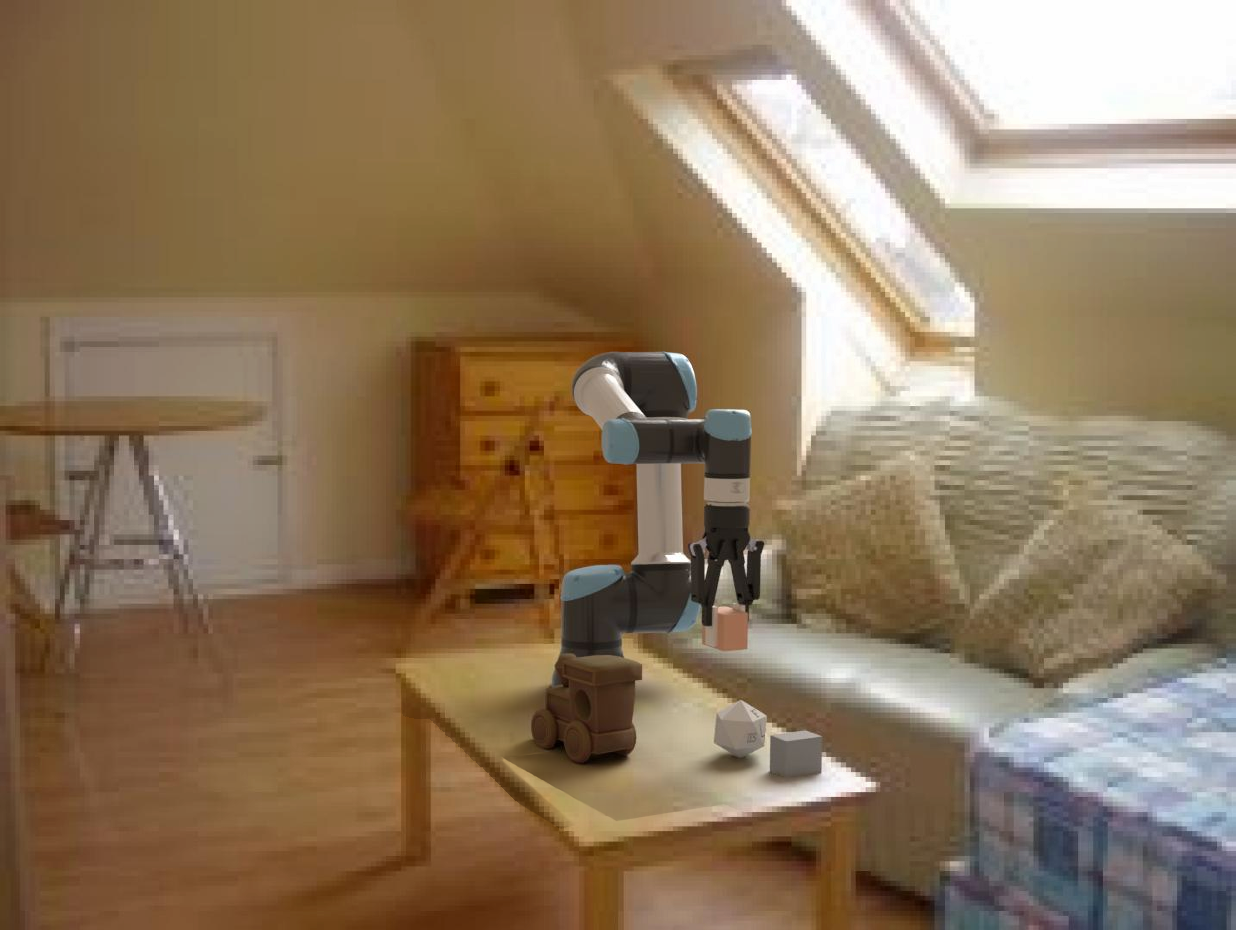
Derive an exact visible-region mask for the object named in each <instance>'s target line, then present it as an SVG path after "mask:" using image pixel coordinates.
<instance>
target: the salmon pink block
mask: <svg viewBox="0 0 1236 930" xmlns="http://www.w3.org/2000/svg"><path fill="white" fill-rule="evenodd" d="M717 607H718V629H717V647H712V646H709V645H706V644H705V628H706V626H704V625H702V624H701V625H702V626H701V631H702V632H701V644H702V645H704V646H707V647H709V648H713V649H716V650H718V651H721V652H731V651H733V652H734V651H740V650H741V651H742V650H748V641H749V640H748V639H749V637H748V633H749V632H748V631H749V627H748V626H749V624H748V623H749V621H748V613H747V612H743V611H740V610H736V609H733V607H730V606H729V607H728V606H717Z"/></svg>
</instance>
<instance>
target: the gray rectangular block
mask: <svg viewBox="0 0 1236 930" xmlns="http://www.w3.org/2000/svg"><path fill="white" fill-rule="evenodd" d="M769 736H770V738H769V745H770V746H769V772H770V773H774V774H775V775H778V776H780V777H783V778H784V779H786V778H787V779H788V778H795V777H801V776H807V775H813V774H820V773H822V766H823V764H822V763H823V762H822V759H823V756H822V755H823V736H822V735H819V734H817V733H813V732H811V731H808V730H806V729H805V730H798V731H790V732H784V733H778V734H777V733H776V734H770V735H769Z"/></svg>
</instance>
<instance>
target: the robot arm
mask: <svg viewBox="0 0 1236 930" xmlns="http://www.w3.org/2000/svg"><path fill="white" fill-rule="evenodd" d="M697 387H698V386H697V381H696V375H695V371H694V369H693V366H692V364H691V362H690V359H689V358H687V357H686V356H685V355H684V354H681V353H677V352H668V351H667V352H666V351H632V352H631V351H625V352H624V351H609V352H607V351H606V352H602V353H600V354H597V355H595V356H593V357H590V358H589V359H587V360H586V361H584V363H583V364H581V365H580V366H579V367H578V369H577V370H576V372H574V375H573V378H572V380H571V387H570V388H571V389H570V392H571V397H572V399H573V401H574V403H575V404H576V406H577V408H578V409H579V411H581V412H582V413H583V414H585V415H587V416H590V417H592V418H593V419H594V421H595V423H596V424H597V426H599V428H600V429H601V451H602V455H603V458H604V460H605V462H607V463H609V464H620V465H625V466H628V465H636V493H637V494H636V495H637V496H636V498H637V502H636V503H637V532H638V533H637V536H638V537H637V538H638V539H637V541H638V543H637V545H638V546H637V547H638V554H637V556H636V557H635V558H634V559H633V560H632V561H631V562H630V571H629V572H624V571H625V570H623V567H622V566H621V565H620V564H606V565H605V564H599V565H591V566H585V567H581V568H580V567H579V568H576V569H573V570H570V571H568V572H567V573H566V574H565V575H564V577H562V583H561V592H560V596H559V598H560V601H561V602H560V603H561V607H560V608H561V609H560V610H561V611H560V613H561V615H560V616H561V617H560V619H561V623H560V624H561V625H560V629H561V630H560V631H561V632H560V634H561V635H560V639H561V642H560V650H559V651H560V652H559V654H558V658H557V660H558V659H559V657H560V655H561V654H565V653H570V654H575V656H576V657H577V658H578V657H586V656H594V655H612V656H619V657H623V658H625V655H624V652H623V634H624V635H625V634H653V633H654V634H657V633H666V634H672V633H675V632H676V633H677V632H686V631H688V630H690V629H692V627H694V625H695V623H697V620H698V618H699V613H700V611H701V625H704V626H706V628H705V644H706V645H705V646H707V645H709V646H712V647H717V629H718V607H719V606H715V602H716V596H717V592H718V587H719V583H720V582H719V581H720V578H721V573H722V568H723V567H724V565H725V561H728V563H729V565H730V570H731V574H732V580H733V581H732V582H733V587H734V591H735V596H736V601H737V602H732V608H733V609H736V610H740V611H743V612H747V613H748V622H749V621H750V606H752V605H753V604H754V601H756V600H759V599H760V598H761V571H762V569H761V565H762V553H763V550H764V548H765V542H764V541H763V540H759V539H755V538H752V536H751V534H750V532H749V526H750V524H751V523H750V521H751V520H750V519H751V517H750V516H751V507H750V506H749V505H748V504H747V503H748V502H750V501H751V495H750V493H751V492H750V491H751V458H752V457H751V454H752V453H751V452H752V435H753V429H752V420H751V418H752V417H751V414H750V412H749V411H748V410H747V409H736V408H735V409H733V408H732V409H725V408H724V409H723V408H722V409H721V408H719V409H718V408H716V409H715V408H714V409H713V408H712V409H709V410H708V411H706V413H705V418H704V417H701V418H700V417H699V418H697V419H696V418H690V419H688V414H690V413H692V412H694V411H695V409H696V407H697V397H698V388H697ZM682 464H704V485H703V488H704V489H703V500H704V501H705V502H706V504H705V506H703V526H704V531H703V534H702V539H700V540H698V541H696V542H689V543H688V544H687V549H688V552H689V555H690V559H689V558H688V557H687V555H686V554H684V546H683V545H684V543H683V540H684V539H683V535H684V534H683V507H682V505H683V501H682V498H683V497H682V466H681V465H682ZM746 549H747V554H746V559H745V555H744V552H745V550H746ZM706 550H707V551H708V554H707V555H708V556H707V561H705V559H706V558H705V553H706V552H707V551H706ZM706 562H707V568H706V566H705V565H706ZM745 563H746V567H745ZM705 570H706V572H705ZM709 646H708V647H709ZM712 647H711V648H712ZM557 685H562V682H561V680H560V678H559V676H558V673H557V671H556V669H555V668H554V670H553V673H552V677H551V687H553V686H557Z"/></svg>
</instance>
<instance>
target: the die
mask: <svg viewBox="0 0 1236 930" xmlns="http://www.w3.org/2000/svg"><path fill="white" fill-rule="evenodd" d="M767 719H768V715H766V714H765V713H763V712H762V711H760V710H759V709H757V708H755V707H753V706H751V705H750V704H749V703H747V702H745V701H744V700H742V699H740V700H738V701H736V702H733V703H732V704H730V705H728V706H726V707H724V708H723V709H721V710H719V711H717V712H716V717H715V726H714V737H713V744H715V745H717V746H718V747H719V748H722V749H723V750H725V751H727V752H728V753H730V754H731V755H733V756H735V757H737V758H739V759H742V758H744V757H746V756H749V754H752V753H754V752H756V751H757V750H759V749H762V748H763V747H765V743H766V742H765V741H766V732H767Z"/></svg>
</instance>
